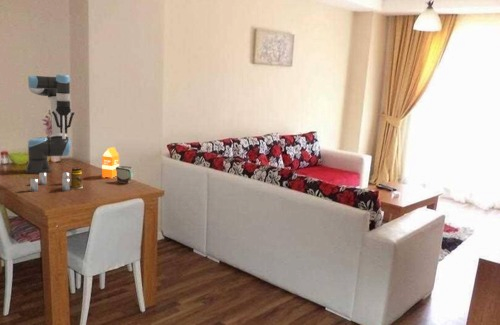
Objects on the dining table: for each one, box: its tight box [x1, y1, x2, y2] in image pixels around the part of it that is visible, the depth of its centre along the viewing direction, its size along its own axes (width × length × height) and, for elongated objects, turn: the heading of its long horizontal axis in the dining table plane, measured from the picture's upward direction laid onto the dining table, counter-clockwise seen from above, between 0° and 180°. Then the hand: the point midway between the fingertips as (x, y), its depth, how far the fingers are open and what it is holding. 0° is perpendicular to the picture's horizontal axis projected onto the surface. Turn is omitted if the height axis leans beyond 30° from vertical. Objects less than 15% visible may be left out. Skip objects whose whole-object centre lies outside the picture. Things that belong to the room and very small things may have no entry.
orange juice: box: [101, 146, 120, 179], centre depth 290 cm, size 8×9×20 cm
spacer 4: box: [61, 177, 71, 192], centre depth 250 cm, size 4×4×7 cm
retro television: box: [115, 165, 133, 185], centre depth 279 cm, size 12×6×10 cm, turn 65°
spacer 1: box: [29, 177, 39, 193], centre depth 246 cm, size 4×4×7 cm
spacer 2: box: [38, 172, 48, 186], centre depth 261 cm, size 4×4×7 cm
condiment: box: [70, 166, 84, 190], centre depth 258 cm, size 7×8×12 cm
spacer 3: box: [61, 171, 70, 180], centre depth 265 cm, size 4×4×7 cm
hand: (63, 138), depth 264 cm, fingers closed
